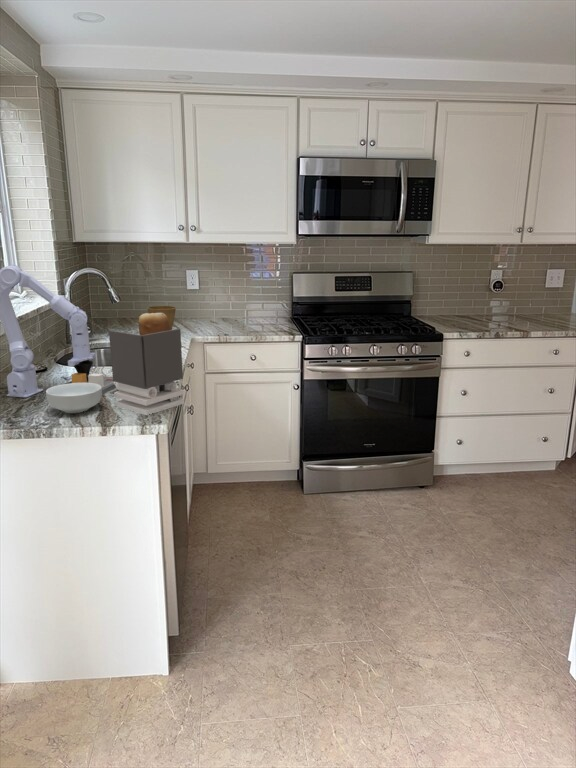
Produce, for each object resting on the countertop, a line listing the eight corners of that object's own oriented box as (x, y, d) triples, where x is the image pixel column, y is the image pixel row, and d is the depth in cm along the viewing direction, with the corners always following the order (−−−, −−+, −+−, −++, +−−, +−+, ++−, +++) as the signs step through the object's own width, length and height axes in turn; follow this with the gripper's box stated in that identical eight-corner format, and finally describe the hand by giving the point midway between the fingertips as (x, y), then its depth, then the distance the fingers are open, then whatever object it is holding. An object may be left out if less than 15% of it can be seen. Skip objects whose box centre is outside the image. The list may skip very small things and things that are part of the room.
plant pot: (151, 340, 297) (149, 309, 293) (147, 335, 310) (145, 306, 306) (179, 338, 302) (178, 308, 298) (174, 333, 315) (172, 304, 311)
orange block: (82, 387, 200) (81, 375, 199) (72, 387, 201) (71, 374, 199) (87, 385, 203) (86, 373, 201) (77, 384, 203) (76, 372, 202)
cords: (112, 393, 199) (112, 390, 198) (56, 389, 204) (56, 386, 203) (138, 380, 217) (138, 377, 216) (86, 377, 222) (86, 374, 221)
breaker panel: (97, 397, 195) (95, 379, 193) (56, 394, 198) (54, 376, 197) (127, 381, 214) (126, 365, 213) (89, 379, 218) (87, 363, 216)
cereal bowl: (110, 411, 179) (108, 390, 177) (55, 421, 170) (53, 399, 168) (94, 399, 193) (92, 379, 191) (42, 407, 183) (40, 386, 182)
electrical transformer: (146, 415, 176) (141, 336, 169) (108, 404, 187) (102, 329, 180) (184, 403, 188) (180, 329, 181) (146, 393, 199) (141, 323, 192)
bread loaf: (156, 369, 233) (152, 309, 227) (182, 373, 227) (179, 311, 221) (133, 377, 221) (128, 313, 215) (160, 381, 215) (155, 315, 209)
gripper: (79, 349, 193) (83, 387, 197) (102, 341, 207) (105, 377, 210) (60, 348, 195) (65, 386, 198) (84, 340, 208) (88, 376, 212)
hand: (84, 381), depth 204 cm, fingers closed
